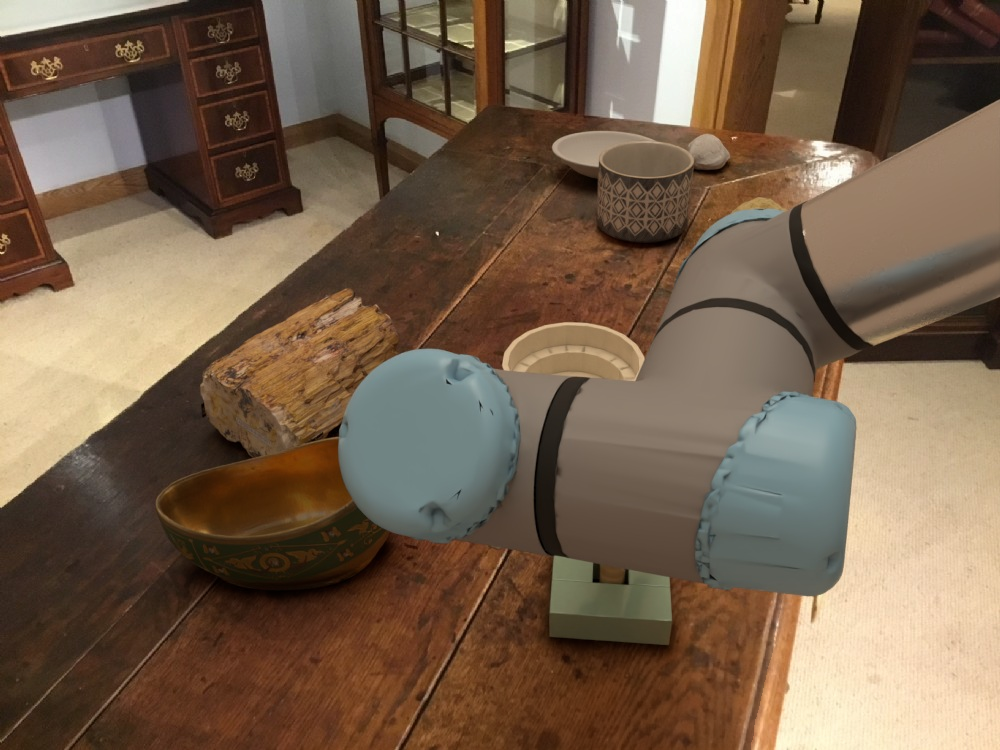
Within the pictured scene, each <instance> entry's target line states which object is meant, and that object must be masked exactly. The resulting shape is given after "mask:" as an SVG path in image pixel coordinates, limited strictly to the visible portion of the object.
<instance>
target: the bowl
mask: <svg viewBox="0 0 1000 750" xmlns="http://www.w3.org/2000/svg"><path fill="white" fill-rule="evenodd" d="M645 357H646V356H644V354H643V352H642V351H641V349H640V347H639V346H638V344H637V343H635V342H634V340H632V339H631V338H630V337H628V336H627V335H625V334H624V333H621V332H620V331H617V330H615V329H612V328H611V327H608V326H604V325H600V324H594V323H590V322H577V321H576V322H575V321H574V322H573V321H566V322H565V321H563V322H557V323H549V324H544V325H541V326H538V327H536V328H532V329H530V330H527V331H526V332H524V333H522V334H521V335H519V336H518V337H517V338H515V339H513V340H512V341H511V343H510V344H509V346H508V347H507V348H506V350H505V351H504V352H503V358H502V363H501V370H507V371H518V372H529V373H540V374H551V375H563V376H574V377H575V376H577V377H590V378H603V379H615V380H628V381H635V380H636V378H637V376H638V374H639V371H640V369H641V367H642V364H643V362H644V360H645Z"/></svg>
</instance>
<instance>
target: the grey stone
mask: <svg viewBox="0 0 1000 750" xmlns="http://www.w3.org/2000/svg"><path fill="white" fill-rule="evenodd" d="M686 150H687V151H688V152H690V153H691V154H692V156H693V158H694V168H693V170H696V171H697V170H698V171H709V170H719V169H722V168H723V167H724V166H725V165H726V163H727V162H728V161H729V160H731V154H730V152H729V150H728V149H727V148H726V147H725V146H724V144H723V142H722V141H721V140H720V138H718V137H717V136H715V135H714V134H711V133H703V134H701V135H699V136H697V137H696V138H694V139H692V141H690V142H689V143H688V145H687V149H686Z"/></svg>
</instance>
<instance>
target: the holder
mask: <svg viewBox="0 0 1000 750" xmlns="http://www.w3.org/2000/svg"><path fill="white" fill-rule="evenodd" d="M552 561H553V562H552V572H551V573H552V575H551V588H550V599H549V610H548V611H549V613H548V616H549V617H548V618H549V619H548V621H549V622H548V623H549V626H548V628H549V629H548V631H549V637H550V638H560V639H562V638H563V639H575V640H589V641H602V642H615V643H616V642H617V643H618V642H619V643H632V644H647V645H660V646H669V645H670V640H671V632H672V625H673V610H672V595H671V577H665V576H660V575H655V574H649V573H644V572H639V571H634V570H628V569H625V582H626V583H625V584H624V585H622V584H606V583H599V582H593V581H594V580H600V564H597V563H591V562H586V561H581V560H575V559H570V558H566V557H561V556H553V560H552Z"/></svg>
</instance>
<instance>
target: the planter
mask: <svg viewBox="0 0 1000 750" xmlns="http://www.w3.org/2000/svg"><path fill="white" fill-rule="evenodd" d="M693 168H694V158H693V156H692V154H691V153H690V152H688V151H687V149H685V148H683V147H682V146H679V145H676V144H672V143H668V142H663V141H658V140H655V141H632V142H625V143H620V144H616V145H613V146H611V147H609V148H607V149H605V150H604V151H603V152H602V153H601V154H600V156H599V171H598V179H597V198H596V199H597V201H596V203H597V204H596V223H597V226H598V227H599V229H600V230H601V231H602V232H603V233H604V234H606V235H608V236H610V237H612V238H614V239H616V240H620V241H624V242H628V243H629V242H630V243H639V244H649V243H650V244H651V243H652V244H653V243H660V242H665V241H669V240H671V239H674V238H676V237H678V236H680V235H681V234H682V233H683V232H684V231H686V229H687V227H688V222H689V214H690V205H691V196H692V186H693V177H694V169H693Z"/></svg>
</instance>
